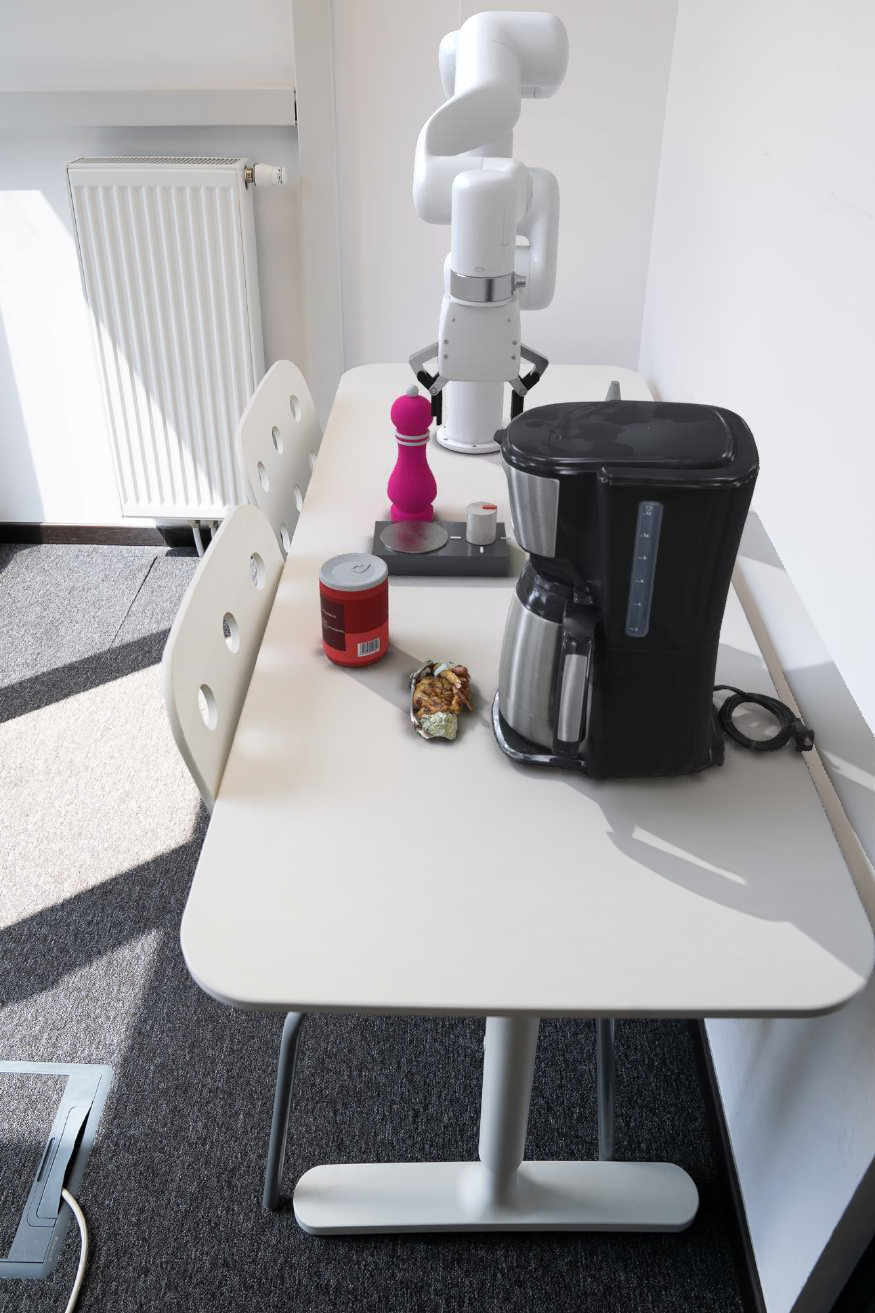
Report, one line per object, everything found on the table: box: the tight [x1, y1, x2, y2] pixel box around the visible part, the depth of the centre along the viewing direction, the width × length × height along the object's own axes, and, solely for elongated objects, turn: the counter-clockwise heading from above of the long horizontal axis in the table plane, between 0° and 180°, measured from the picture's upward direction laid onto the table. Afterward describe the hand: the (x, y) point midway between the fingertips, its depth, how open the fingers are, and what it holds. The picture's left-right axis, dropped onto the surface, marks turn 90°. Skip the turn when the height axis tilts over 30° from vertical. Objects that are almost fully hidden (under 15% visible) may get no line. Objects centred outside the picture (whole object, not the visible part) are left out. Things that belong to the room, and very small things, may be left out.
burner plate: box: [380, 521, 448, 554], centre depth 139 cm, size 9×9×1 cm
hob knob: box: [466, 501, 498, 545], centre depth 138 cm, size 4×4×5 cm
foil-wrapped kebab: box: [408, 657, 474, 740], centre depth 111 cm, size 7×12×4 cm, turn 2°
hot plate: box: [371, 520, 512, 577], centre depth 140 cm, size 19×10×3 cm, turn 90°
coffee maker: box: [491, 399, 816, 781], centre depth 101 cm, size 23×32×34 cm
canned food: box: [318, 552, 390, 668], centre depth 118 cm, size 8×8×11 cm
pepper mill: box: [386, 384, 438, 522], centre depth 145 cm, size 7×7×20 cm
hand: (476, 421), depth 132 cm, fingers open, 9 cm apart
